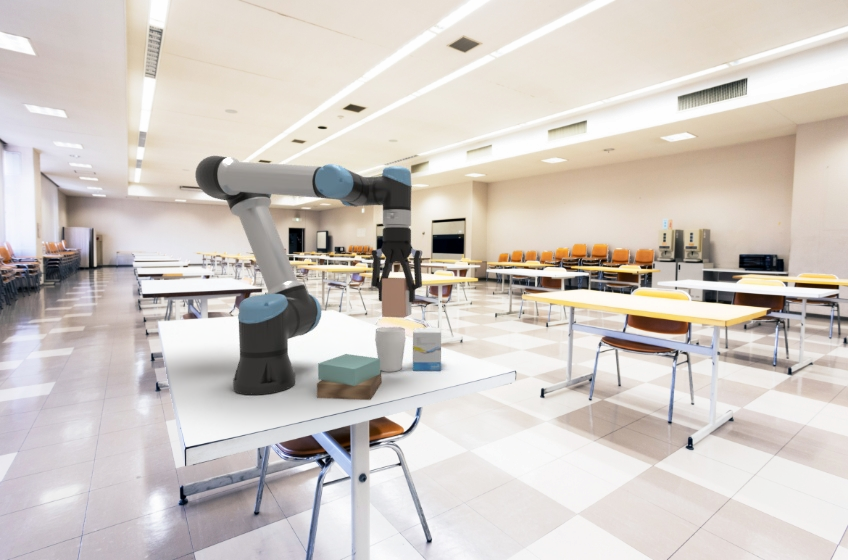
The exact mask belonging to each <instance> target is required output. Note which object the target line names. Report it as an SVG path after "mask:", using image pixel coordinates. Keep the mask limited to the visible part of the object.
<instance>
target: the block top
mask: <svg viewBox="0 0 848 560" xmlns="http://www.w3.org/2000/svg"><path fill="white" fill-rule="evenodd" d="M317 365H318V368H317V369H318V370H317V371H318V378H317V379H318V380H320V381H321V380H324V381H330V382H336V383H342V384H347V385H353V386H356V385H358V384H360V383H362V382H364V381H366V380H368V379H370V378H373V377H375V376H377V375H379V374H380V359H379V358H378V357H377V358H376V357H373V356H364V355H357V354H356V355H355V354H350V353H344V354H342V355H338V356H336V357H333V358H330V359H327V360H325V361H321V362H319V363H317Z"/></svg>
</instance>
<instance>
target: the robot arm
mask: <svg viewBox="0 0 848 560" xmlns="http://www.w3.org/2000/svg"><path fill="white" fill-rule="evenodd" d="M195 181H196V184H197V186H198V187H199V189H200V190H201V191H202V192H203V193H204V194H205V195H207V196H209V197H211V198H214V199H217V200H222V201H226V202H227V205H228V207H229V210H230V212H231V214H232V215H234V216H237V217H238V218H239V220H240V222H241V225H242V229H243V230H244V233H245V235H246V238H247V240H248V244H249V245H250V248H251V251H252V253H253V255H254V258H255V261H256V263H257V267H258V269H259V271H260V273H261V276H262V279H263V281H264V284H265V286H266V289H267V293H265V294H261V295H252V296H249V297H247V298H244V299H243V300H242V301H241V302H240V303H239V306H238V315H237V319H238V334H239V335H238V336H239V337H238V338H239V360H238V364H237V367H236V370H235V373H234V377H233V379H232V388H233V391H234V393H238V394H242V395H268V394H273V393H278V392H282V391H285V390H288V389H290V388H291V387H293V386H294V385H296V373H295V371H294V369H293V365H292V361H291V360H290V357H289V349H288V345H289V344H288V341H289V339H293V338H296V337H299V336H304V335H305V334H308V333H310V332H311V331H313V330H314V329H316V328H317V326H318V324H319V323H320V320H321V318H322V307H321V304H320V301H319V300H318V299H317V298H316V297H315V296H313V295H312V294H311V293H308V290H307V287H306V285H305V284H304V283H302V282H300V281H298V280H297V277H296V275H295V272H294V270H293V267H292V264H291V261H290V260H289V257H288V254H287V251H286V249H285V246H284V245H283V242H282V239H281V237H280V234H279V231H278V230H277V229H278V228H277V227H276V224H275V221H274V218H273V217H272V214H271V210H270V209H269V208H270V206H271V204H272V199H271V197H272V195H278V196H288V197H289V196H293V197H305V198H316V199H317V198H318V199H319V198H320V199H328V200H338V201H340V202H341V204H342V205H344V206H346V207H356V208H357V207H362V206H363V207H364V206H382V225H383V226H384V227H383V229H382V246H381V248H378V249H373V250H371V255H372V258H373V259H372V274H371V277H372V278H371V286H372V287H373V288H377V290H378V301H379V302H382V279H384V278H390V272H391V270H392V266H393V265H394V263H400V266H401V268H402V271H403V274H404V278H406V282H407V285H408V288H409V289H408V290H406V315H409V316H410V314H411V315H412V306H413V305H412V303H414V302H415V301H416V291H417V289H421V288H422V287H423V280H422V279H423V278H422V260H421V258H422V255H423V251H422V250H421V249H420V250H419V249H415V248H413V246H412V229H411V228H410V227H411V226H412V187H413V186H412V173H411V171H410V169H409V168H407V167H404V166H397V165H395V166H387V167H384V168H383V170H382V174H381V175H380V176H362V175H361V174H358V173H355V172H353V171H351V170H349V169H347V168H345V167H343V166H341V165H337V164H333V163H327V164H325V165H323V166H319V165H318V166H317V165H316V166H315V165H297V164H284V163H283V164H282V163H281V164H279V163H263V162H246V161H239V160H238V159H237V158H234V157H230V156H228V157H227V156H221V155H211V156H208V157H204V158H203V159H202V160H201V161H200V162H199V163H198V164H197V166H196V168H195ZM411 254H412V255H411ZM410 255H411V256H412V257H413V271H414V272H413V274H414V277H413V274H412V271H411V267H410V262H409V259H408V258H409V257H410ZM382 256H384V257H385V260H384V263H383V264H384V265H383V269H382V273H381V262H382V261H381V260H382ZM380 275H381V276H380Z"/></svg>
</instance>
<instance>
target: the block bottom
mask: <svg viewBox="0 0 848 560" xmlns="http://www.w3.org/2000/svg"><path fill="white" fill-rule="evenodd" d="M381 385H382V370H380V374H379V375H377V376H375V377H373V378H370V379H368V380H366V381H364V382H362V383H360V384H358V385H356V386H353V385H347V384H342V383H336V382H330V381H324V380H320V381H319V382H317V383H316V398H317V399H332V400H333V399H335V400H337V399H338V400H339V399H340V400H365V401H367V400H368V401H371V400H372V398H373V396H374V395H375V394H376V393H377V391H378V390H379V388H380V386H381Z"/></svg>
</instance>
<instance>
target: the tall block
mask: <svg viewBox="0 0 848 560" xmlns="http://www.w3.org/2000/svg"><path fill="white" fill-rule="evenodd" d="M408 289H409V288H408V285H407V282H406V278H405V277H388V278H384V279H382V301H381V317H382V318H384V317H385V318H403V319H404V318H407V317H409V316H410V315H412V313H411V314H410V315H406V290H408Z"/></svg>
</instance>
